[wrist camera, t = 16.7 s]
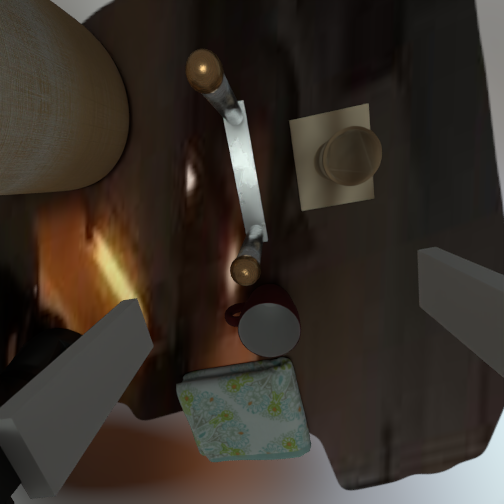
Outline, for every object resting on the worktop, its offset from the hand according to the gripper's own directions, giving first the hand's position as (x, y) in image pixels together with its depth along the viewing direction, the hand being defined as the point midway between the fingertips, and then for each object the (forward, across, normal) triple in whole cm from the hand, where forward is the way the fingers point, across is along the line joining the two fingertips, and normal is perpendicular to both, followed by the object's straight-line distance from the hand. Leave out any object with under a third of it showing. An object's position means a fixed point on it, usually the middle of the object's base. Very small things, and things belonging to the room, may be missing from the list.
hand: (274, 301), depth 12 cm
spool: (+27, +10, +6) cm, 29 cm away
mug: (+28, -3, -13) cm, 31 cm away
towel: (+29, -11, -34) cm, 46 cm away
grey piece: (+28, -2, +6) cm, 29 cm away
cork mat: (+28, +10, +6) cm, 30 cm away
